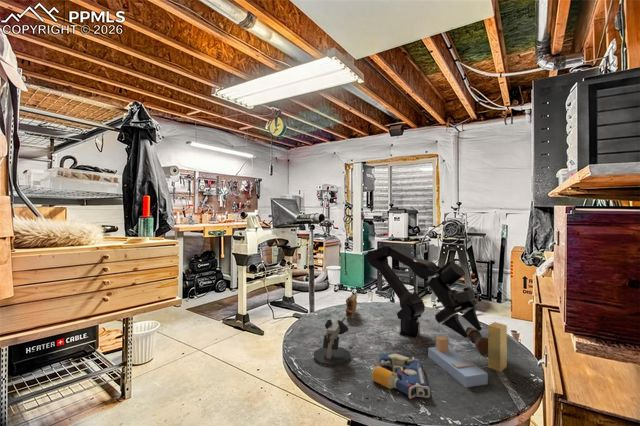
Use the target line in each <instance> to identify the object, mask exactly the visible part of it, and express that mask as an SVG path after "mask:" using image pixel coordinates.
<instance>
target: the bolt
mask: <svg viewBox="0 0 640 426" xmlns="http://www.w3.org/2000/svg"><path fill="white" fill-rule="evenodd" d="M465 331H466V333H467V335H468V337H467V338H468V339H469V341H471V342H474V346H475V348H476V350H477V351H478V352H479V353H480V354H487V355H488V337H483V336H482V334H481V333H480V331H479V330H477V329H476V328H475V327H474V328H473V327H469V326H468V327H466V329H465Z"/></svg>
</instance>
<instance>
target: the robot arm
mask: <svg viewBox="0 0 640 426" xmlns="http://www.w3.org/2000/svg"><path fill="white" fill-rule="evenodd" d="M388 258H392V259H394V260H396V261H398V262H399V263H401V264H402V265H404V266H406V267H408V268H409V269H411V271H412V273H413V274H414V275H416V276H417V277H418V278H419V279H422V280H423V281H424V284H423V289H424V290H426V289H429V288H430V290H431V291H432V293H433V294H434V296H435V297H436V298H437V299H436V303H437V304H439V303H440V304H441V305H442V306H443V308H442V309H441V310H440V311H438V312H437V313H436V314H435V316H434V318H435V320H436V322H437V323H438V324H441V325H442V326H446V327H448V328H450V330H453V331H454V332H455V333H457V334H459V335H460V336H461V337H463V338H465V339H467V338H468V335H467V333H466V329H465V328H464V326H463V325H462V323H461V322H460V320H459V314H461V317H463V318H464V320H466V321H467V322H468V323H470V325H471V326H473V327H474V329H477V330H478V331H479V332H480V331H482V330H483V328H482V326H481V323H480V321H479V319H478V315H477V309H478V305H479V303H478V302H477V300H476V296H475V295H476V291H475V290H474V289H472V287H471V286H466V287H463V290H462V291H459V292H458V291H457V290H456V289H452V288H451V287H450V286H453V285H455V284H456V283H457V282H459V281H460V280H462V278H463V277H465V275H466V273H465V270H464V269H463V267H462V266H460V265H459V264H457V262H456V263H455V262H453V260H448V261H447V262H446V263H445V264H444V265H442V267H441V266H440V265H437V264H436V263H435V262H434V261H430V260H428V259H423V258H418V257H416V256H414V255H412V254H411V253H408V252H406V251H404V250H402V249H400V248H399V247H396V246H395V245H394V244H385V245H384V246H382V247H379V248H377V249H372V250H368V251H367V253H366V256H365V259H366V262H367V263H368V264H369V265H370V266H371V267H372V268H373V269H375V270H377V271H378V272H379V273H380V274H381V275H382V277H383V278H384V280H385V281H386V283H387V284H388V285H389V287H390V288H391V290H392V291H393V293H394V295H396V296H397V298H398V301H399V306H400V308H401V309H400V310H398V311H397V312H396V316H397V319H398V320H400V331H399V336H400V335H401V336H405V337H410V338H417V337H418V336H419V334H421V323H420V322H419V318H422V315H423V314H424V312H425V309H426V308H425V307H426V306H425V304H424V300H423V299H422V298H421V297H420V295H419V294H418V293H417V292H414V293H412V292H410V291H409V290H408V288H407V287H406V285H405V284H404V283H403V282H402V280H401V279H400V278H399V276H398V274H396V273H395V271H394V270H393V268H392V267H391V266H390V264H389V259H388ZM429 278H430V279H429ZM425 279H429V280H425Z"/></svg>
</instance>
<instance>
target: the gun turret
mask: <svg viewBox="0 0 640 426" xmlns="http://www.w3.org/2000/svg"><path fill="white" fill-rule="evenodd" d="M346 319H347V317H346V315H344V316H343V317H342V318H341V320H339V319H338V320H337V323H334V322H332V319H331V318H329V319H327V320H326V323H325V324H324V328H325V329H326V330H325V331H326V334H324V335H323V342H322V343H323V344H322V347H319V348H318V349H316V350H314V351H313V361H314V360H315V361H314V362H316V361H317V362H318V363H319V364H318V363H317V362H316V363H317V364H318V365H320V364H321V365H320V366H323V365H326V366H325V367H329V366H332V367H331V368H335V367H334V366H336V367H341V365H342V366H345V365H346V364H348V363H349V362H350V361H351V352H350V350H347V349H345V348H344V347H341V346H339V345H340V344H339V343H340V342H339V341H340V337H339V335H343V334H345V333H347V332H348V331H349V327H348V326H347V325H346V324H345V323H344V321H346Z"/></svg>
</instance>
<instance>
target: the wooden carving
mask: <svg viewBox="0 0 640 426" xmlns="http://www.w3.org/2000/svg"><path fill="white" fill-rule="evenodd" d="M357 298H358V295H357V294H355V293H353V294H351V295H350V296H348V297H347V298H346V299H345V304H346V305H345V306H346V308H345V318H350V319H353V318H354V317H353V316H355V313H356V310H357V303H358V301H357Z"/></svg>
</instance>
